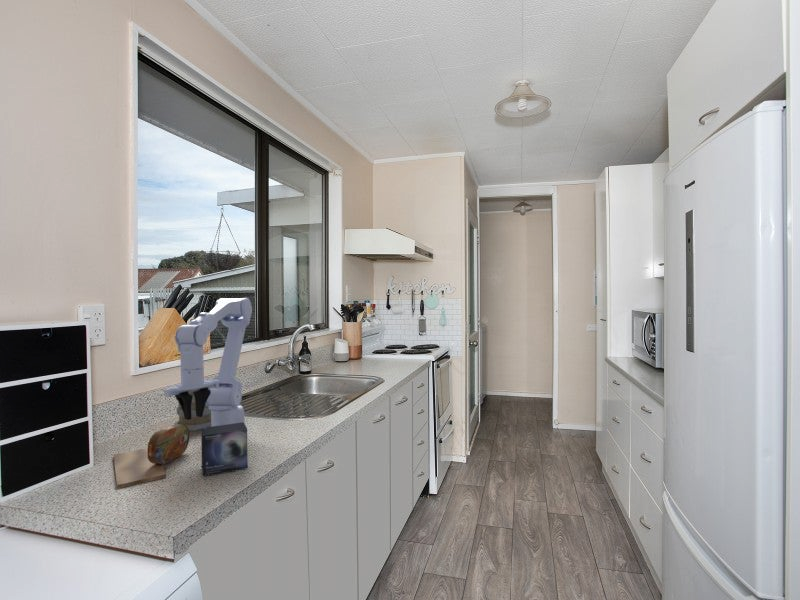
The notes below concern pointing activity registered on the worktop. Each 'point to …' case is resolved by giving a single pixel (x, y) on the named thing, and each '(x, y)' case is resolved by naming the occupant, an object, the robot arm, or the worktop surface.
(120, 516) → the worktop surface
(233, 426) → the small box
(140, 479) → the chopping board
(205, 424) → the tankard
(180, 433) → the tin
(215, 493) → the worktop surface
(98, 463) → the worktop surface
